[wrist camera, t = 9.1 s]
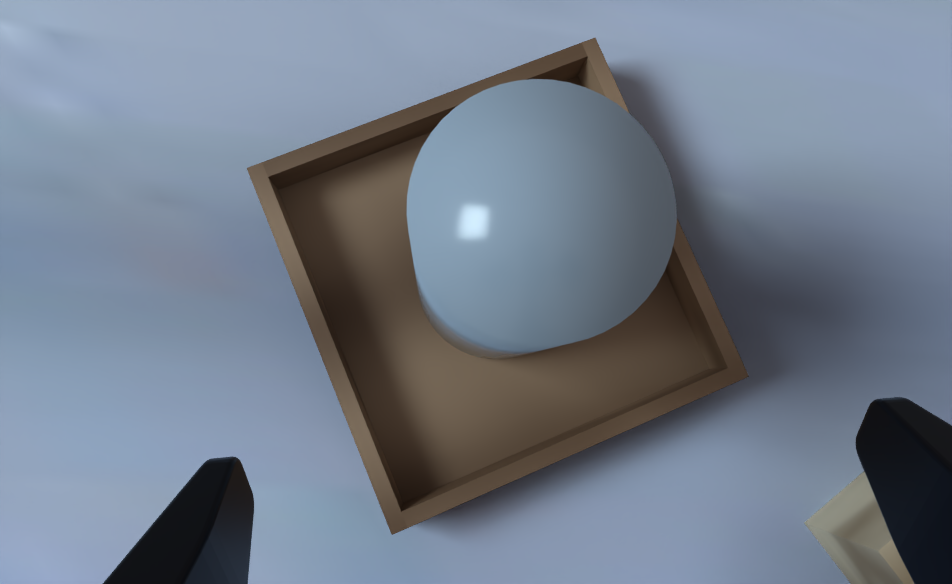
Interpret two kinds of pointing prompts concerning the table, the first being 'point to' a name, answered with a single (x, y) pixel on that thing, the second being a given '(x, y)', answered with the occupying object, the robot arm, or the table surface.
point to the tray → (436, 361)
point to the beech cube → (858, 536)
